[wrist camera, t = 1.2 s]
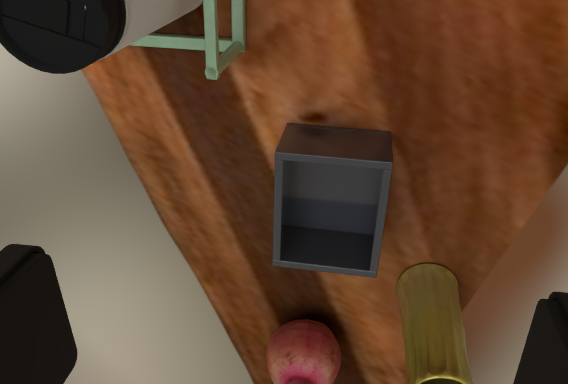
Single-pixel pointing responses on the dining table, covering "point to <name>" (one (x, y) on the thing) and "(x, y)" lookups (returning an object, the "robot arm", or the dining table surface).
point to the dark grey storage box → (331, 198)
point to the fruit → (303, 354)
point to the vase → (432, 326)
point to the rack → (208, 38)
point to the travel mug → (80, 28)
